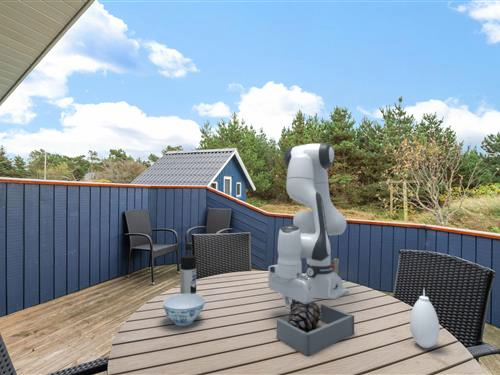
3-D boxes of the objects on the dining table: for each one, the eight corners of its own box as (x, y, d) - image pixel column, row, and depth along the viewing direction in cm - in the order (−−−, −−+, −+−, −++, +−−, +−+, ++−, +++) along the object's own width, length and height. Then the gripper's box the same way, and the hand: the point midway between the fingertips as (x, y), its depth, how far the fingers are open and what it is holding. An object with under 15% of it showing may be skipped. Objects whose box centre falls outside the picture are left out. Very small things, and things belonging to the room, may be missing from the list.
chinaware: (181, 310, 117) (181, 291, 117) (212, 318, 110) (212, 297, 110) (153, 325, 103) (153, 303, 103) (187, 335, 97) (187, 311, 97)
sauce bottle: (444, 354, 86) (443, 293, 86) (415, 352, 87) (415, 291, 88) (432, 341, 94) (432, 285, 94) (406, 339, 95) (406, 283, 95)
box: (323, 319, 109) (323, 303, 109) (354, 333, 99) (354, 315, 99) (276, 338, 95) (276, 319, 95) (307, 356, 85) (307, 335, 85)
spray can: (192, 306, 121) (193, 258, 121) (177, 305, 122) (177, 257, 123) (198, 300, 128) (198, 255, 128) (184, 299, 129) (184, 254, 129)
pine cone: (283, 342, 92) (283, 310, 93) (293, 319, 109) (293, 292, 109) (316, 348, 89) (317, 315, 89) (321, 323, 106) (322, 296, 106)
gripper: (317, 275, 101) (317, 316, 100) (277, 263, 117) (277, 298, 117) (304, 278, 97) (304, 320, 97) (265, 266, 113) (265, 301, 113)
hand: (289, 308), depth 107 cm, fingers closed
